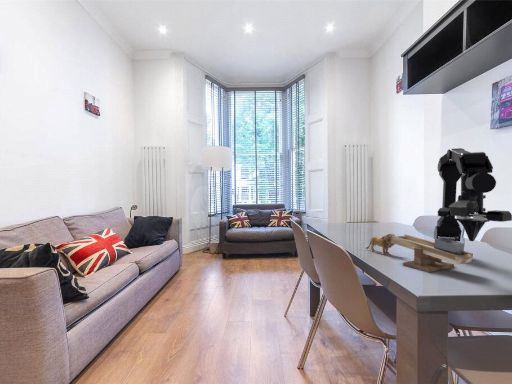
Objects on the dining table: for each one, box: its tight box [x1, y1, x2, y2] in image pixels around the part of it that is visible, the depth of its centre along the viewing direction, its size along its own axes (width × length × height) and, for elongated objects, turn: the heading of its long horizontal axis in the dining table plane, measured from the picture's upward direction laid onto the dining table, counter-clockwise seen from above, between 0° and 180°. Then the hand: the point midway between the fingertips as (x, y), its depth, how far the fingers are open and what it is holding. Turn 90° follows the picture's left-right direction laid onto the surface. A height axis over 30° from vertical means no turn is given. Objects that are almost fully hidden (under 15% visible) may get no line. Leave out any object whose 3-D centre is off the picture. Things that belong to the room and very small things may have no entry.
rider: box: [433, 237, 465, 256], centre depth 99 cm, size 5×7×4 cm
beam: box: [391, 233, 474, 265], centre depth 106 cm, size 8×25×3 cm, turn 25°
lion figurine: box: [365, 233, 396, 256], centre depth 129 cm, size 15×5×9 cm, turn 35°
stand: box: [402, 248, 455, 273], centre depth 106 cm, size 14×10×7 cm
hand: (471, 241), depth 93 cm, fingers closed
